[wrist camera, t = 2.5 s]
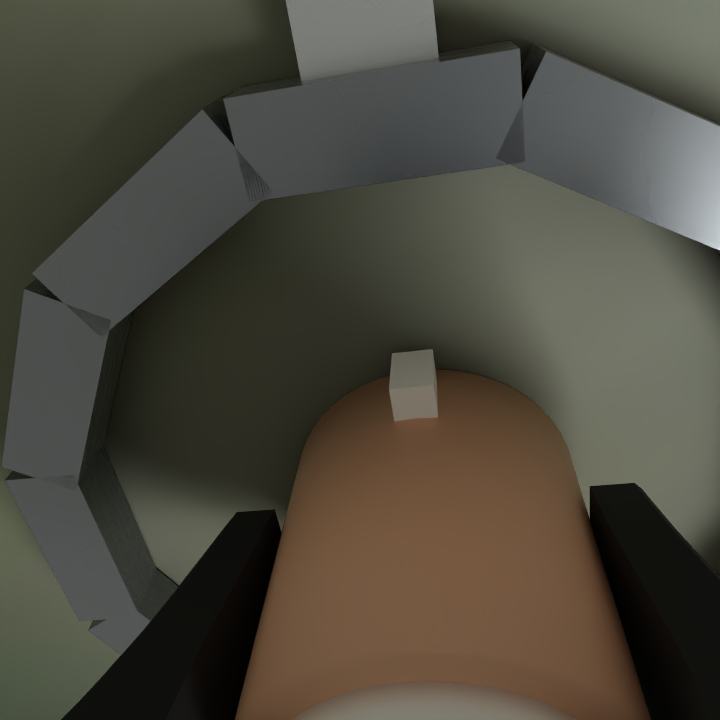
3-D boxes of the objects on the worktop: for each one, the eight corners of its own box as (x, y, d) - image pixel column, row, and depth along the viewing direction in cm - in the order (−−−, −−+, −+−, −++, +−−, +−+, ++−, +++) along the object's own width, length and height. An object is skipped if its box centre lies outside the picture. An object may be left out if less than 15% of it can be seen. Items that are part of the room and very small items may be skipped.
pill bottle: (575, 594, 12) (665, 964, 8) (331, 606, 13) (281, 954, 8) (570, 324, 10) (704, 642, 5) (265, 357, 11) (139, 665, 6)
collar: (790, 773, 15) (813, 823, 14) (199, 779, 17) (187, 824, 16) (1043, -274, 6) (1139, -312, 6) (-186, -10, 8) (-255, -7, 8)
